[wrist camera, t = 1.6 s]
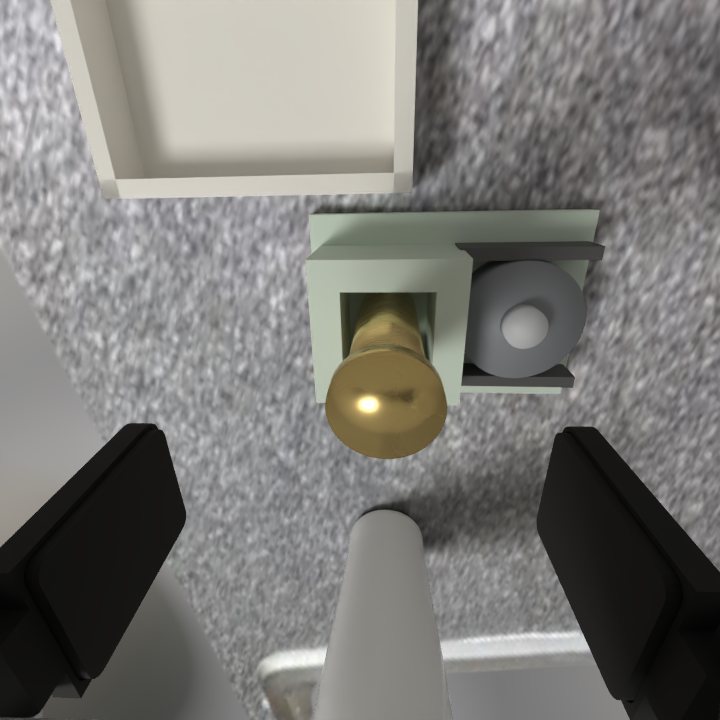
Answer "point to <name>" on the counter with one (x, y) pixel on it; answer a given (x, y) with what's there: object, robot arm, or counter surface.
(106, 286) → the counter surface
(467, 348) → the green socket holder
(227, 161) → the tray
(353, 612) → the drinking glass
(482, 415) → the counter surface
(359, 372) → the pin
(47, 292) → the counter surface
